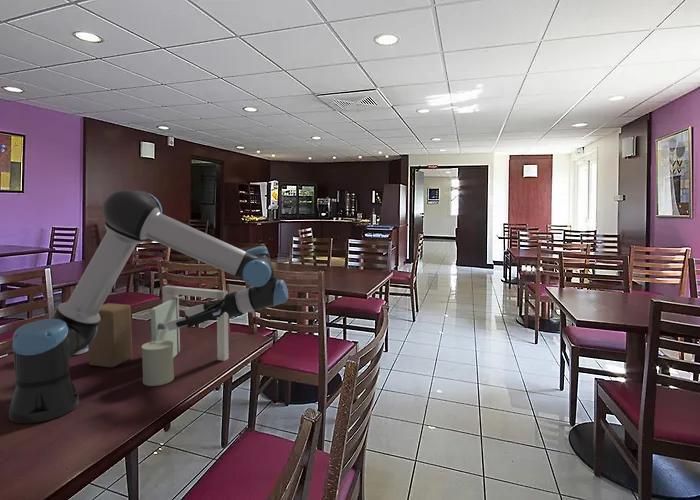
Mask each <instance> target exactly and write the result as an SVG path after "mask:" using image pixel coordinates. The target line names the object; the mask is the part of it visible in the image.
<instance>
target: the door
mask: <svg viewBox="0 0 700 500" xmlns="http://www.w3.org/2000/svg"><path fill="white" fill-rule="evenodd" d="M176 319H178V301H177V298H172V299H170V300H168V301H166V302H164V303H163V302H162V303H161V304H159V305H157V306H154V307H152V308H151V309H150V322H149V323H148V325H147V327H148V329H149V330H151V333H150V334H151V342H152V341H159V340H167V341H171V342H173V359H174V358H175V357H176V356H177V355H179V354H180V351H179V340H178V329H174V330H170V331H169V330H168V327H167V324H166V322H169V321H172V320H176Z"/></svg>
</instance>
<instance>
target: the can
mask: <svg viewBox="0 0 700 500" xmlns="http://www.w3.org/2000/svg"><path fill="white" fill-rule="evenodd" d="M141 359H142V360H141V361H142V364H141V365H142V384H143V385H144V386H148V387H156V386H157V387H158V386H163V385H167V384H168V383H171V382H173V381H174V379H175V373H174V358H173V342H171V341H167V340H159V341H152V340H151V341H150V342H146V343H143V344H142V345H141Z"/></svg>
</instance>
